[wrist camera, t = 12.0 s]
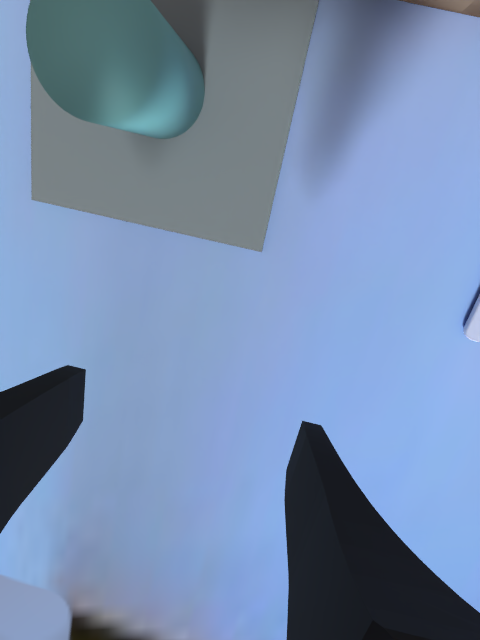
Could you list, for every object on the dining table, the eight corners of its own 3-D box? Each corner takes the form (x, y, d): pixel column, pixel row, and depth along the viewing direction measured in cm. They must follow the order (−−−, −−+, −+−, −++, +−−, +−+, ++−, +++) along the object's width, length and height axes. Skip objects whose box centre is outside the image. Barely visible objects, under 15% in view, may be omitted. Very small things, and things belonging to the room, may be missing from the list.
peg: (212, 47, 16) (170, -25, 10) (196, 148, 18) (150, 137, 12) (121, 25, 16) (26, -60, 10) (112, 127, 18) (25, 106, 12)
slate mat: (329, -47, 15) (330, -53, 15) (261, 250, 20) (261, 252, 19) (35, -109, 15) (29, -116, 15) (36, 199, 20) (31, 199, 19)
